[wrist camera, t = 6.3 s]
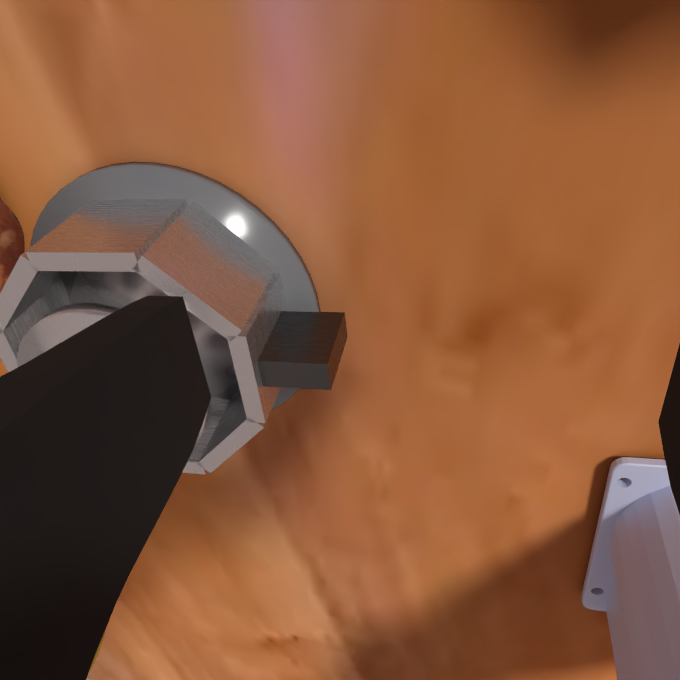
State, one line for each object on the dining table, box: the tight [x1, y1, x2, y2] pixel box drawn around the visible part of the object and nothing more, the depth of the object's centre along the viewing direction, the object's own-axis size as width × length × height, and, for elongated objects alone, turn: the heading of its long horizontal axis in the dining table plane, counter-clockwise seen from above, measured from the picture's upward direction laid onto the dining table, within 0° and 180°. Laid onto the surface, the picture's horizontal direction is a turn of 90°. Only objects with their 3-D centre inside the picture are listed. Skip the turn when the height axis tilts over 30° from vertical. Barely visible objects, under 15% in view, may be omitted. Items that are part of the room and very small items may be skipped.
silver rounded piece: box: [17, 271, 237, 445], centre depth 20 cm, size 7×7×6 cm
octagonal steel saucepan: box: [0, 198, 347, 474], centre depth 21 cm, size 9×11×4 cm
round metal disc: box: [30, 162, 320, 410], centre depth 23 cm, size 11×11×1 cm
